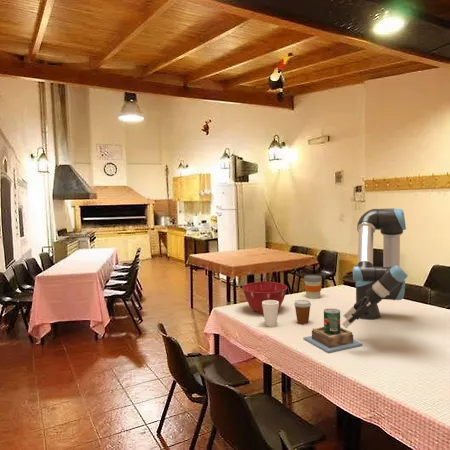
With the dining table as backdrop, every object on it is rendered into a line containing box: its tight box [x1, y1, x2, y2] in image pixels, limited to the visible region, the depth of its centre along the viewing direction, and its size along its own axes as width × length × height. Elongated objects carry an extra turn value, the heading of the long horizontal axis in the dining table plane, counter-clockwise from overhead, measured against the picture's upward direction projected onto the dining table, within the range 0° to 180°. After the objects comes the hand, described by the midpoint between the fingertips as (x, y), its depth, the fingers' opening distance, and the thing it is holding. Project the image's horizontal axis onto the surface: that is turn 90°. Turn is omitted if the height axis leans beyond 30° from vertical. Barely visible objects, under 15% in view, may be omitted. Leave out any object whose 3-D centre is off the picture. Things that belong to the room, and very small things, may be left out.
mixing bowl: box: [241, 281, 288, 314], centre depth 255 cm, size 28×28×15 cm
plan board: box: [303, 335, 364, 354], centre depth 196 cm, size 20×20×1 cm
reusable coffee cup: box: [303, 274, 323, 300], centre depth 283 cm, size 13×13×15 cm
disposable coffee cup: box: [293, 299, 312, 325], centre depth 228 cm, size 10×10×12 cm
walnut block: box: [311, 326, 354, 348], centre depth 196 cm, size 14×14×5 cm
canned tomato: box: [323, 308, 341, 335], centre depth 195 cm, size 8×8×11 cm
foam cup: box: [262, 300, 280, 328], centre depth 226 cm, size 10×9×13 cm
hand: (344, 321), depth 193 cm, fingers open, 13 cm apart
